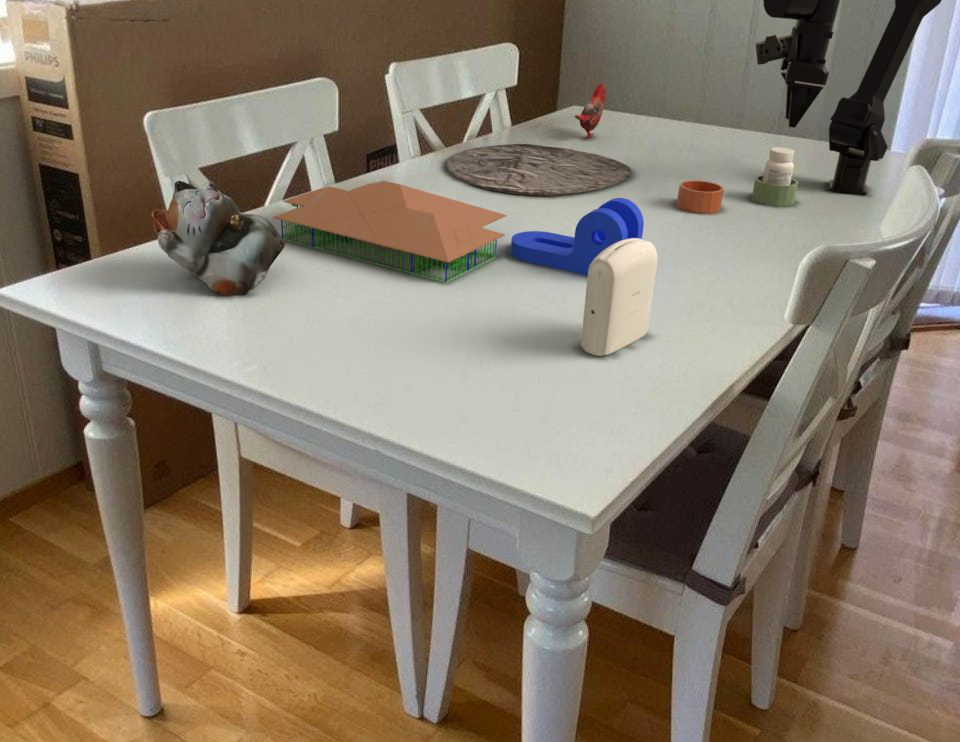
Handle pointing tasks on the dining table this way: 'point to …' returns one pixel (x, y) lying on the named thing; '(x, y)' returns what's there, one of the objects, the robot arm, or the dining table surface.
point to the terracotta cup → (700, 196)
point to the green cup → (774, 193)
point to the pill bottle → (779, 166)
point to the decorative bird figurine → (593, 110)
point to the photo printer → (618, 296)
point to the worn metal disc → (536, 169)
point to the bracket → (581, 238)
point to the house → (396, 223)
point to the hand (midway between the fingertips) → (790, 123)
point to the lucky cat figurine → (217, 239)
